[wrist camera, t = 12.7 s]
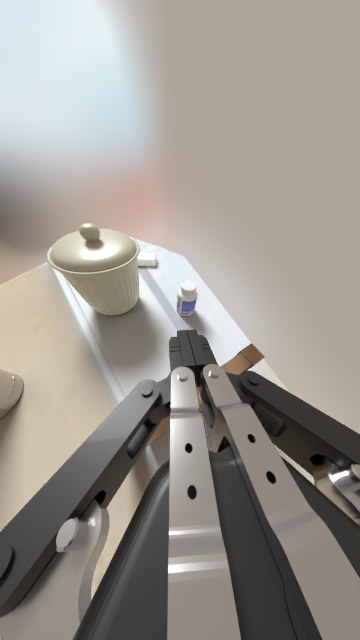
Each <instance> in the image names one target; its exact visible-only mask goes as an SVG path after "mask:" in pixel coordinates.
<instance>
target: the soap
mask: <svg viewBox="0 0 360 640" xmlns="http://www.w3.org/2000/svg"><path fill="white" fill-rule="evenodd" d="M137 258H138V266H156V254H155V253H139V254H138V256H137Z"/></svg>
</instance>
